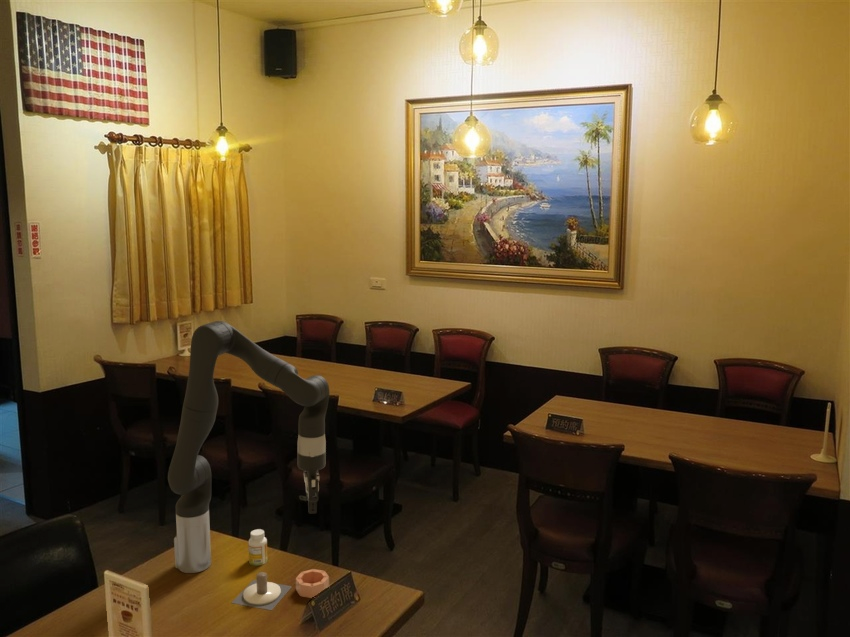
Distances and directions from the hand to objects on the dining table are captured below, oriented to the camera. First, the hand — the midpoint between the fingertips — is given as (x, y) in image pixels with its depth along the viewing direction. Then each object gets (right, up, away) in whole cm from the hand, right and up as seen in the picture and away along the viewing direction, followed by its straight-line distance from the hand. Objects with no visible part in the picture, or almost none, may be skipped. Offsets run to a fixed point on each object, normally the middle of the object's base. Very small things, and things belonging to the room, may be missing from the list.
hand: (311, 506), depth 189 cm
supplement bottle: (-19, -22, +18) cm, 34 cm away
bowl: (0, -25, +3) cm, 25 cm away
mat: (-14, -25, 0) cm, 28 cm away
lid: (-14, -24, 0) cm, 28 cm away
